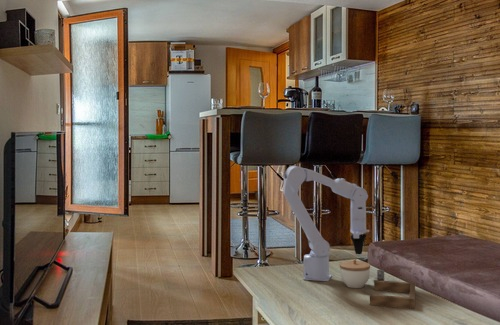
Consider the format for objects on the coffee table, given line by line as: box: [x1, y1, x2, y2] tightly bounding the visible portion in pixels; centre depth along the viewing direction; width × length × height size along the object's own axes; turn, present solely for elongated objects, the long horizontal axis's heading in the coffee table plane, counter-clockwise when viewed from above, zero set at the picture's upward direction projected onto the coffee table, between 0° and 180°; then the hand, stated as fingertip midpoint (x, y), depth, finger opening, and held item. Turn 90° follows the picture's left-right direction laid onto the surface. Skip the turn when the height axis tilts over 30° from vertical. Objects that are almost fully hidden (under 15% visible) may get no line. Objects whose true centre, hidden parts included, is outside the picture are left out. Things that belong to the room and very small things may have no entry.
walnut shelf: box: [369, 279, 416, 310], centre depth 164 cm, size 14×18×3 cm
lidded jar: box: [339, 259, 371, 289], centre depth 179 cm, size 11×11×9 cm
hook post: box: [376, 269, 385, 281], centre depth 175 cm, size 2×4×6 cm, turn 161°
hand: (358, 253), depth 190 cm, fingers closed
